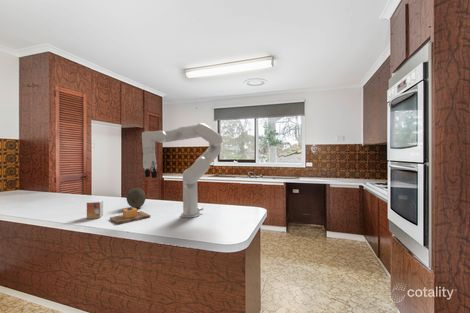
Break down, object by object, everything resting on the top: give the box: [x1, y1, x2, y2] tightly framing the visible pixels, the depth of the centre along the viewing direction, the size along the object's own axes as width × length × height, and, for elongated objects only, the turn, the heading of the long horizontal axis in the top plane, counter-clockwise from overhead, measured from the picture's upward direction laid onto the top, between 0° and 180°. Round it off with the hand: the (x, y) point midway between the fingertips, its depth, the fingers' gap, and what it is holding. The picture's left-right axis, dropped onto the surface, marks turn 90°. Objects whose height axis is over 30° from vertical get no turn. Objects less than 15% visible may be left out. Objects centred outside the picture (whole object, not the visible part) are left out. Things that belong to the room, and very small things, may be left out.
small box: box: [86, 200, 104, 219], centre depth 147 cm, size 8×6×10 cm
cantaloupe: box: [125, 187, 147, 209], centre depth 171 cm, size 14×14×15 cm
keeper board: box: [109, 206, 151, 226], centre depth 143 cm, size 20×14×7 cm
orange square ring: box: [122, 207, 138, 218], centre depth 143 cm, size 7×7×4 cm
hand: (150, 177), depth 144 cm, fingers open, 9 cm apart
